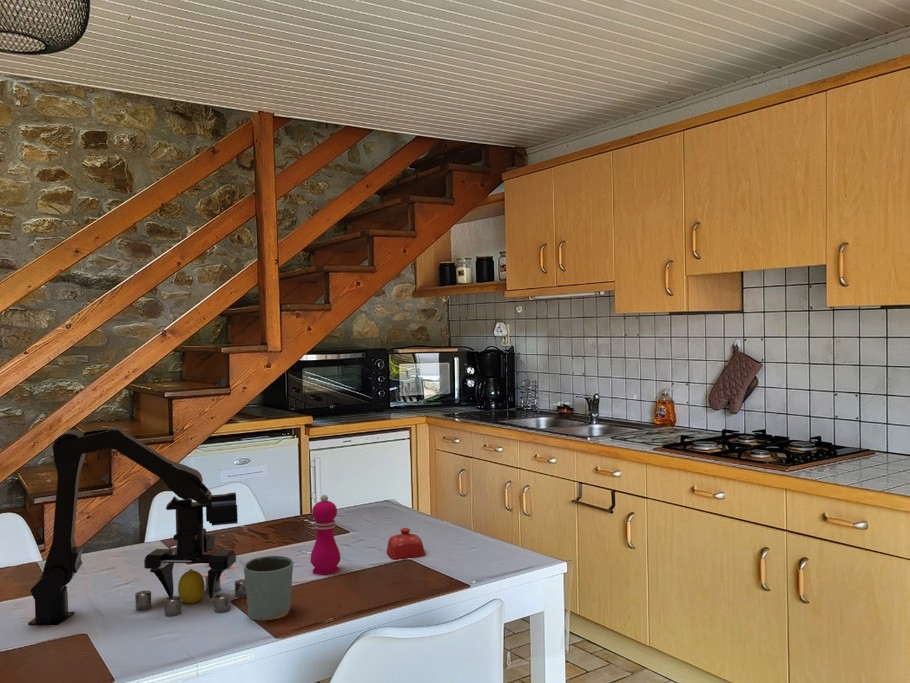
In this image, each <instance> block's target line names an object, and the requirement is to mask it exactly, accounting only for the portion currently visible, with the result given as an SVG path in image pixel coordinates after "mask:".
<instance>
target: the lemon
mask: <svg viewBox="0 0 910 683" xmlns="http://www.w3.org/2000/svg"><path fill="white" fill-rule="evenodd" d="M201 574H202V573H200V572H199V571H196V570H193V568H190V569H189V570H187V571H186V572H184V573H183V574H182V575H181V576H180V578H179V580H178V585H177V593H178V596H179V597H181V602H184V603H185V604H195V603H197V602H199V601H200V599H202V597H203V596H204V592H205V589H206V584H205V580H204V577H202V575H201Z"/></svg>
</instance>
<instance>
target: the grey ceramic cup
mask: <svg viewBox="0 0 910 683" xmlns="http://www.w3.org/2000/svg"><path fill="white" fill-rule="evenodd" d="M293 569H294V561H293V559H292V558H291V557H288V556H284V555H265V556H259V557H255V558H251V559H250V560H248V561H246V562H245V563H244V565H243V573H244V574H243V575H244V579H245V583H246V593H247V596H246V603H247V604H246V605H247V618H248V617H249V618H251V619H255V620H258V619H259V620H261V619H262V620H263V619H270V618H274V617H278V616H281V615H284V614H286V613H287V612H288V611H289V610H290V611H291V606H292V605H291V604H292V591H293V590H292V588H293V572H294V570H293ZM249 618H248V619H249ZM251 619H250V620H251Z"/></svg>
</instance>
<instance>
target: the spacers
mask: <svg viewBox="0 0 910 683" xmlns="http://www.w3.org/2000/svg"><path fill="white" fill-rule="evenodd" d="M220 578H221V577H220ZM220 578H219V581H218V584H217V587H216V590H215V593H217V592H220V591H221V582H220ZM205 592H206V593H208V594H209V586H208V576H206V577H205ZM234 597H236V598H245V597H246V598H247V593H246V583H245V578H242V579H237V580H235V581H234ZM134 598H135V599H134V600H135V603H134V604H135V611H136V612H145V611H149V610H151V609H152V591H151V590H141V591H138V592H135V594H134ZM213 598H214V600H213V601H214V613H216V614H222V613H227V612H229V611H231V594H229V593H219V594H217V595H214V597H213ZM181 613H182V600H181V597H179V595H178V596H176V595H175V596H174V595H173V596H172V597H169V596H168V597H166V598H164V616H165V617H176V616H179V615H180V614H181Z"/></svg>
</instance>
